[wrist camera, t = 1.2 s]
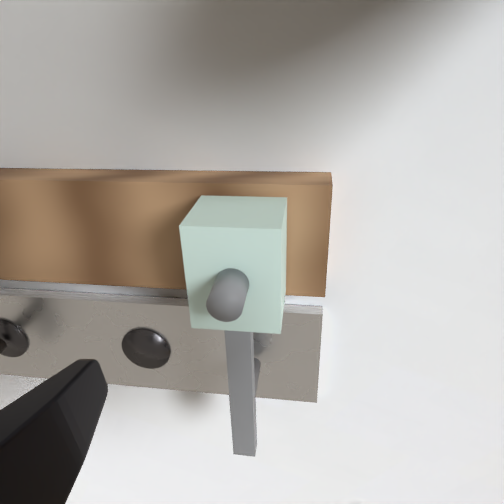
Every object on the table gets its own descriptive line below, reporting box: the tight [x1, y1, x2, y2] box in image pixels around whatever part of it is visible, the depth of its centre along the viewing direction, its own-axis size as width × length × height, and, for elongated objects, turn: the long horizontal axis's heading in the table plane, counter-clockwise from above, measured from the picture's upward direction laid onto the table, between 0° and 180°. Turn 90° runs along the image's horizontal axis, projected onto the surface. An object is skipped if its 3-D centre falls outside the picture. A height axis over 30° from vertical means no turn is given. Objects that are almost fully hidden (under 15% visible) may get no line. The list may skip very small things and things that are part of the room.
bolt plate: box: [0, 288, 323, 403], centre depth 26 cm, size 23×7×1 cm, turn 91°
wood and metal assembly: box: [0, 168, 333, 353], centre depth 22 cm, size 23×14×6 cm, turn 91°
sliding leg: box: [179, 195, 287, 456], centre depth 20 cm, size 4×14×6 cm, turn 1°
